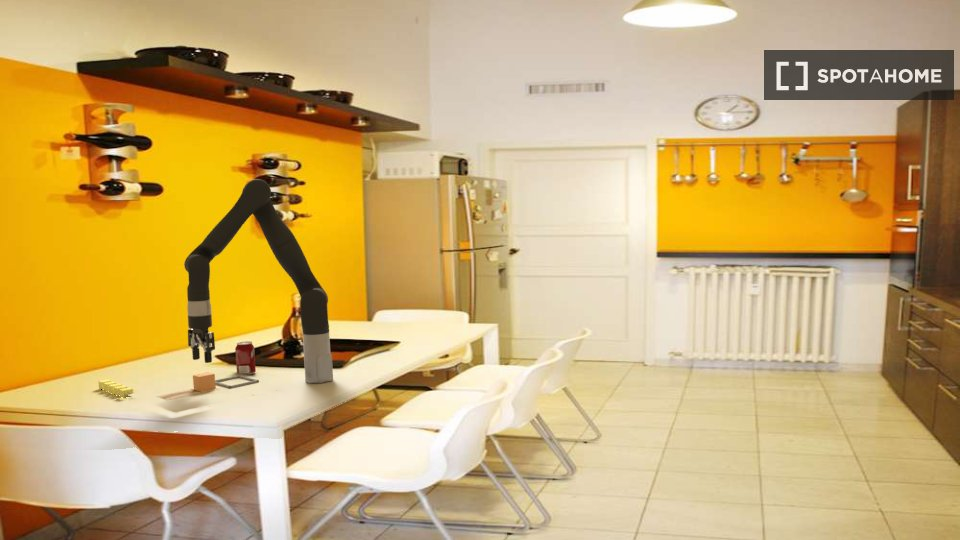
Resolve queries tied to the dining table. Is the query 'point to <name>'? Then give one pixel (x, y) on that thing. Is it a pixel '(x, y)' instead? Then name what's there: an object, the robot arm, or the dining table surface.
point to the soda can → (245, 358)
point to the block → (204, 381)
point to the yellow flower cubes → (115, 388)
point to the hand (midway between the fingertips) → (202, 361)
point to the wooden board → (182, 394)
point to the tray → (236, 384)
